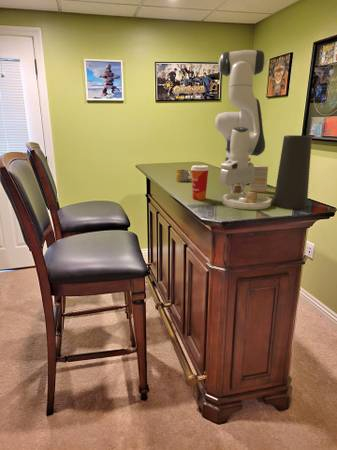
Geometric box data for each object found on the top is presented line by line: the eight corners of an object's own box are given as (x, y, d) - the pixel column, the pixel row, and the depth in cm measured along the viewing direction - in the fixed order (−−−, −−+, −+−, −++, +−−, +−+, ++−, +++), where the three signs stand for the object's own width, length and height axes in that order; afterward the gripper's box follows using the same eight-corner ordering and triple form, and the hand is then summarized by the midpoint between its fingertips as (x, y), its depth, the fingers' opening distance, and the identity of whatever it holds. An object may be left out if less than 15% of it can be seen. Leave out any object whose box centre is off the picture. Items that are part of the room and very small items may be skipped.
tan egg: (244, 203, 143) (245, 192, 142) (254, 203, 144) (255, 191, 142) (247, 206, 139) (248, 194, 138) (257, 205, 140) (258, 194, 138)
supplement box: (266, 191, 172) (268, 165, 168) (265, 193, 168) (268, 166, 164) (249, 190, 175) (251, 164, 171) (248, 192, 171) (250, 166, 167)
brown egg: (236, 195, 164) (237, 184, 162) (242, 196, 161) (243, 186, 159) (230, 196, 161) (230, 185, 160) (236, 197, 158) (237, 187, 157)
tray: (244, 196, 161) (245, 191, 161) (281, 204, 145) (281, 199, 144) (212, 202, 150) (212, 196, 149) (248, 212, 134) (248, 206, 133)
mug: (176, 182, 196) (176, 171, 194) (175, 180, 203) (175, 169, 200) (196, 182, 197) (197, 170, 195) (194, 180, 204) (195, 169, 202)
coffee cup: (188, 196, 160) (189, 165, 155) (206, 196, 160) (207, 164, 156) (191, 200, 152) (192, 167, 147) (209, 200, 153) (210, 167, 148)
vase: (288, 210, 136) (297, 137, 127) (266, 203, 148) (273, 135, 139) (313, 207, 141) (323, 136, 132) (290, 200, 153) (298, 134, 144)
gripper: (248, 161, 164) (246, 189, 169) (218, 164, 153) (216, 194, 157) (258, 162, 160) (256, 191, 164) (227, 166, 148) (226, 196, 153)
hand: (236, 192), depth 161 cm, fingers closed on brown egg, 4 cm apart
